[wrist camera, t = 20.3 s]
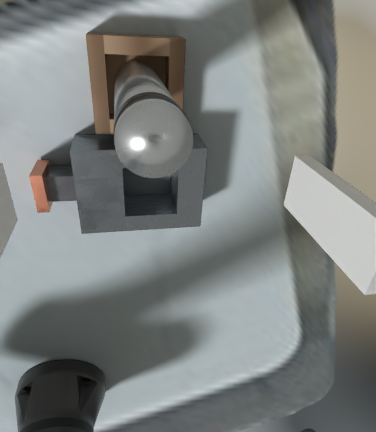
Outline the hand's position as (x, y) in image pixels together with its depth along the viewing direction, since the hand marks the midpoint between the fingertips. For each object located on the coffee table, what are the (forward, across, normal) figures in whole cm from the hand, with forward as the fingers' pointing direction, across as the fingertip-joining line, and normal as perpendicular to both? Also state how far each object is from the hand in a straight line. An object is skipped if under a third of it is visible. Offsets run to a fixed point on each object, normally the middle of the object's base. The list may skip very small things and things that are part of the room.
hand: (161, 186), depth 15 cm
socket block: (+24, 0, -10) cm, 26 cm away
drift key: (+23, -7, -10) cm, 26 cm away
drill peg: (+23, 0, +1) cm, 23 cm away
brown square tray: (+24, 0, +1) cm, 24 cm away
